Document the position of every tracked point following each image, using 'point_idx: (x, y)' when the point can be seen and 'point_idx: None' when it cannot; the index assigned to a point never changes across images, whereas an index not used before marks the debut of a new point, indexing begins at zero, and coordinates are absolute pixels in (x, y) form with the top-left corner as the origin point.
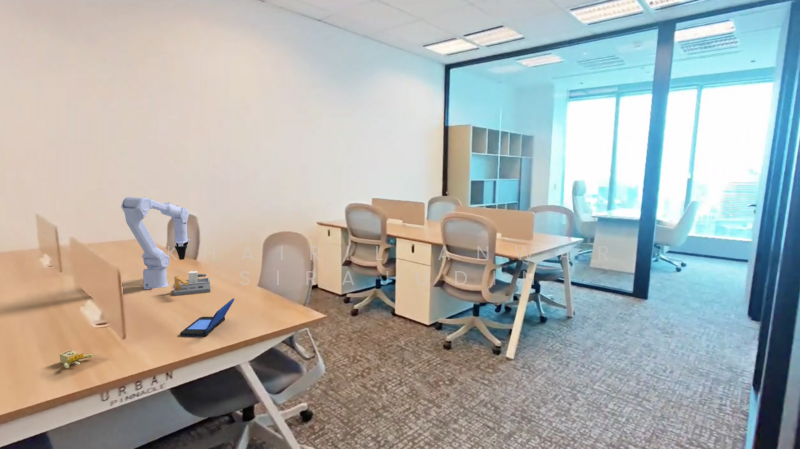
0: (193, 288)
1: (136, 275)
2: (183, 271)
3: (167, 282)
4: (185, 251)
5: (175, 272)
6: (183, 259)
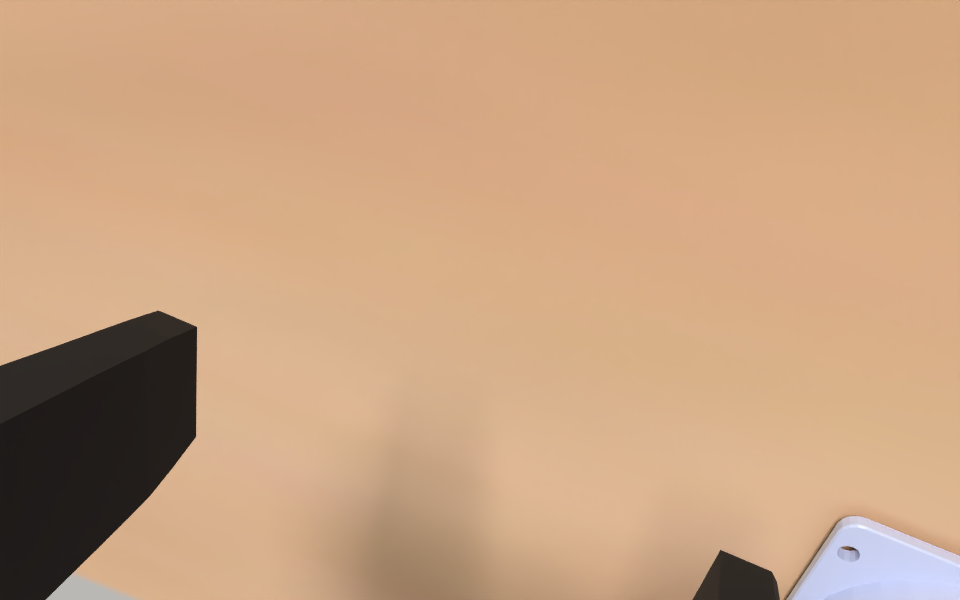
0: None
1: (141, 549)
2: (105, 24)
3: (861, 541)
4: (35, 406)
5: (135, 162)
6: (771, 593)
